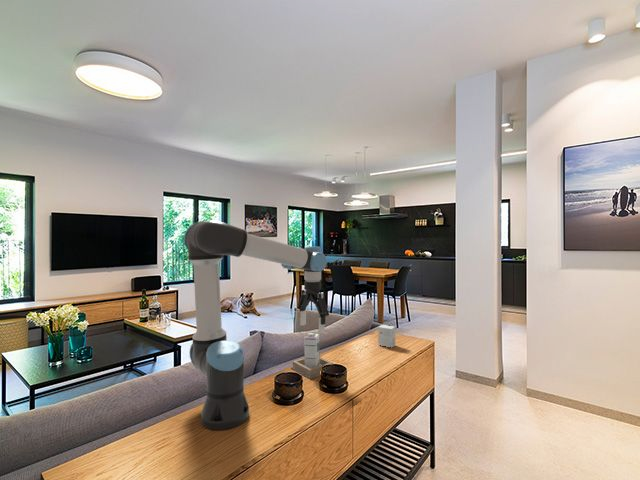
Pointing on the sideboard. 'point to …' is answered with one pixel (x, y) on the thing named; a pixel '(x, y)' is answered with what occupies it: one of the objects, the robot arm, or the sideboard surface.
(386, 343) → the small box
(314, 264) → the robot arm
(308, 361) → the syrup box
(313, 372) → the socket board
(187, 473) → the sideboard surface
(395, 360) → the sideboard surface
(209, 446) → the sideboard surface
